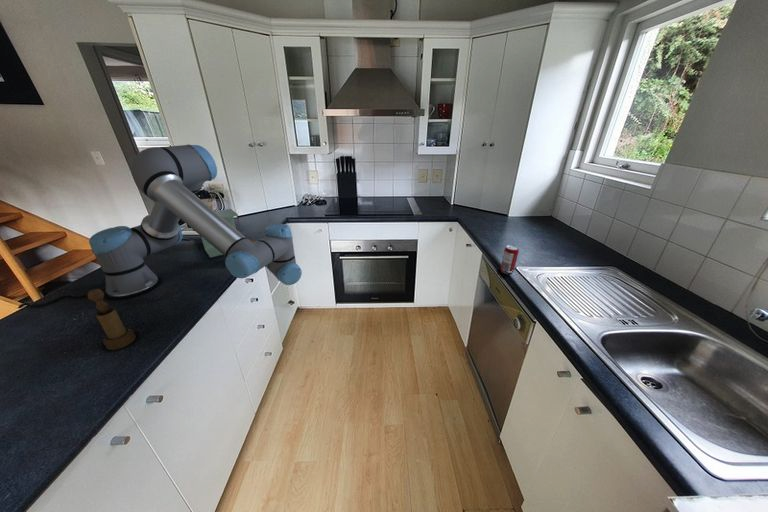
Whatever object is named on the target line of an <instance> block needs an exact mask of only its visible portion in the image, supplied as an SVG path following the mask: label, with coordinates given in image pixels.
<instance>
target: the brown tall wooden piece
mask: <svg viewBox="0 0 768 512" xmlns="http://www.w3.org/2000/svg"><path fill="white" fill-rule="evenodd" d="M87 292H88V294H87V295H86V296H87V298H88V300H90V301H92V302H95V308H96V309H97V310H98V311H96V312H95V317H96V319H97V320H98V322H99V324H100V325H101V327H102V329H103V331H104V333H105V335H106V336H105V337H104V339H103V340H102V341H103V344H104V346H105V349H107V350H109V351H110V350H111V351H115V350H120V349H122V348H126V347H127V346H129V345H131V344H132V343H133V342H134V341H136V338H137V336H136V334H135V333H134V330H133V329H131V328H125V325H124V324H123V322H122V319H121V317H120V315H119V314H118V312H117V310H116V307H113V306H109V305H108V302H107V301H104V296H105V293H104V291H103V290H99V288H93V289H91V290H90V291H87ZM108 306H109V307H108Z"/></svg>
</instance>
